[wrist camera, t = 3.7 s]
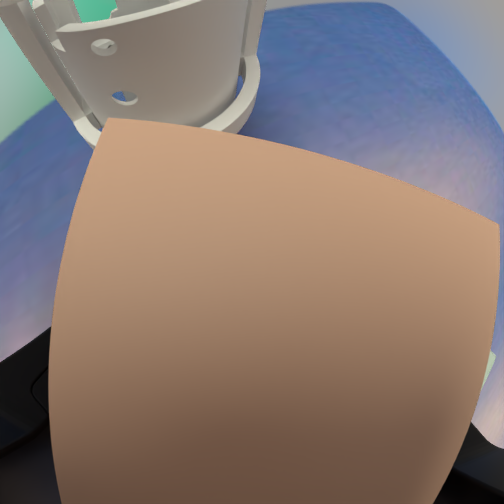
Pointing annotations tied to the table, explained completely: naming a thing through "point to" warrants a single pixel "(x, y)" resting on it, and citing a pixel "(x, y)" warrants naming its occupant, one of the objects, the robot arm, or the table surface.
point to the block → (262, 326)
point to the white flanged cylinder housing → (145, 60)
